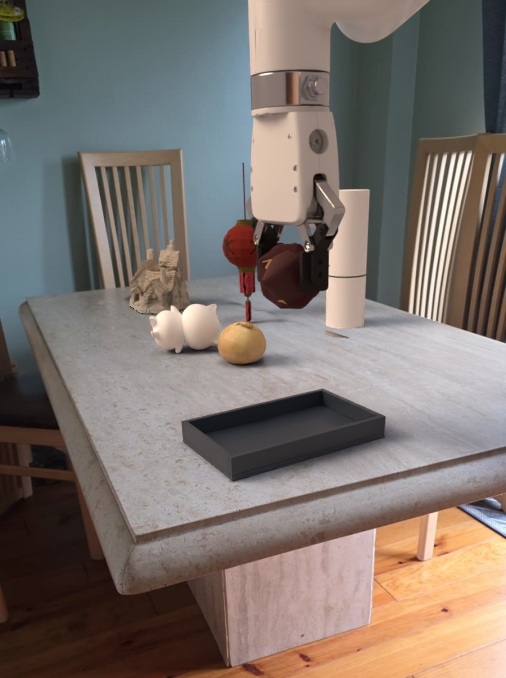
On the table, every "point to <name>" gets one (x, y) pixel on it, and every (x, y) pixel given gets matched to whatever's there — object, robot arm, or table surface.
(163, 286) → the ceramic cottage
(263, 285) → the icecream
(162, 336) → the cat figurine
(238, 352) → the onion
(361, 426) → the dish tray
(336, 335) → the cylindrical container
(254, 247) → the lantern
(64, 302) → the table surface
